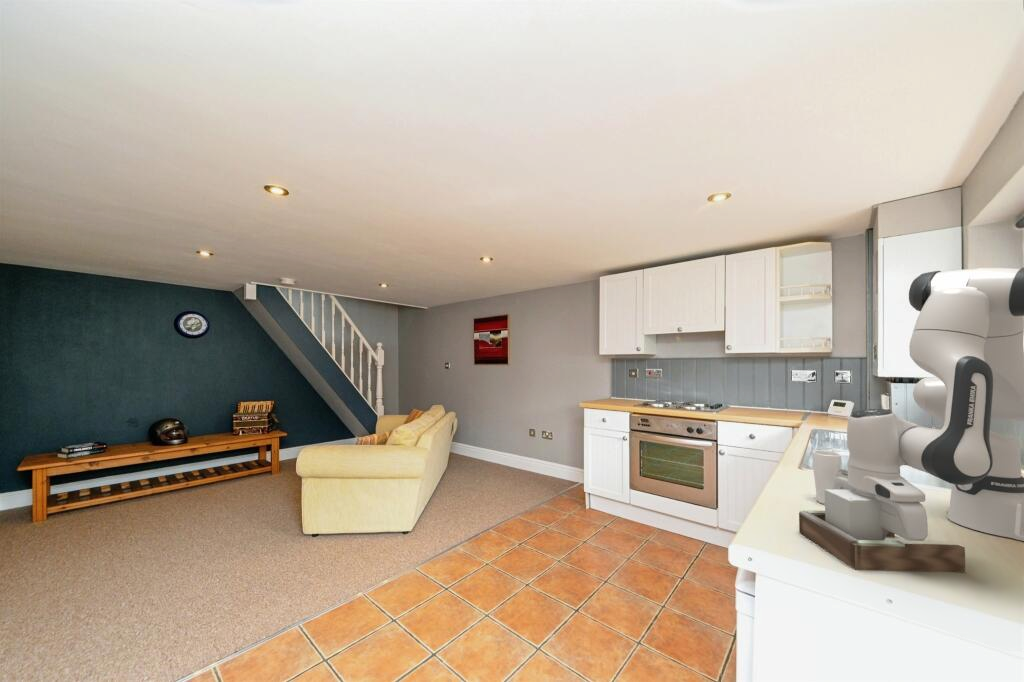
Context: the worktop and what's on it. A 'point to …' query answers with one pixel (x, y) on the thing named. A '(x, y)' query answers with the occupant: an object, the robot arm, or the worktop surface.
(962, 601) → the worktop surface
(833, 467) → the drinking glass
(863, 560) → the wooden serving tray
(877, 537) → the supplement box
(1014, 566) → the worktop surface
